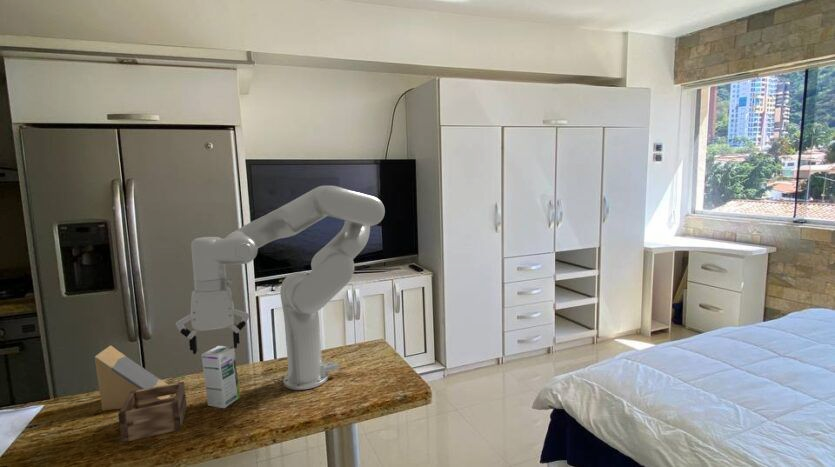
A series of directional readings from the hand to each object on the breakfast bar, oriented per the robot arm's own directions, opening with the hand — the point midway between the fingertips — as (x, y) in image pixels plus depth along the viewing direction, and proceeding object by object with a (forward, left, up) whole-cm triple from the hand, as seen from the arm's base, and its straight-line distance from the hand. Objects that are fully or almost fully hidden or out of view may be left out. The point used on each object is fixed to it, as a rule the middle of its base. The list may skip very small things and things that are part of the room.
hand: (215, 349), depth 115 cm
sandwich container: (+21, -13, -15) cm, 29 cm away
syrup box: (-1, 0, -15) cm, 15 cm away
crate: (+14, +4, -15) cm, 21 cm away
